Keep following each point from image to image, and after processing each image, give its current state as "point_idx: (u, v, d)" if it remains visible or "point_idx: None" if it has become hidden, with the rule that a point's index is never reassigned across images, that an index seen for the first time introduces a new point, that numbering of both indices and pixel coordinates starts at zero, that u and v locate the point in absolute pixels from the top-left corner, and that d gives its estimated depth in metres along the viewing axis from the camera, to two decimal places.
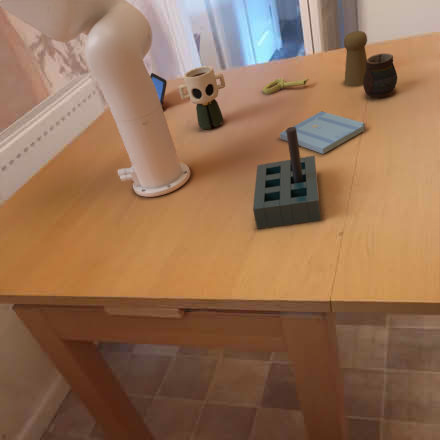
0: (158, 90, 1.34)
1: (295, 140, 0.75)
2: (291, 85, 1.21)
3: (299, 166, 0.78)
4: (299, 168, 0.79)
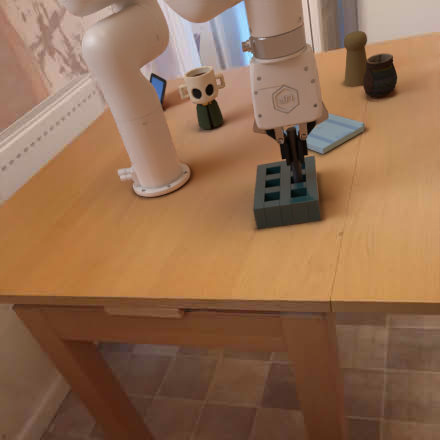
0: (158, 90, 1.34)
1: (295, 140, 0.75)
2: None
3: (299, 166, 0.78)
4: (299, 168, 0.79)
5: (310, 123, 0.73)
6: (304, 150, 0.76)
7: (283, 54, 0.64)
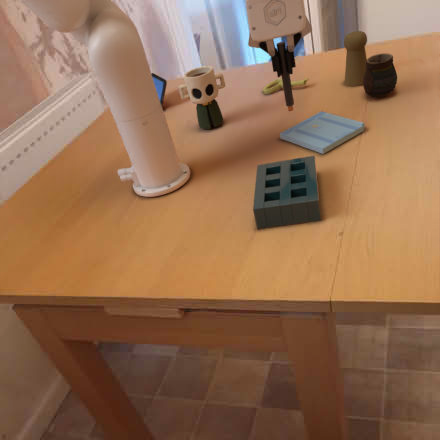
0: (158, 90, 1.34)
1: (284, 53, 0.89)
2: (291, 85, 1.21)
3: (288, 78, 0.92)
4: (288, 80, 0.92)
5: (296, 36, 0.87)
6: (292, 62, 0.90)
7: None
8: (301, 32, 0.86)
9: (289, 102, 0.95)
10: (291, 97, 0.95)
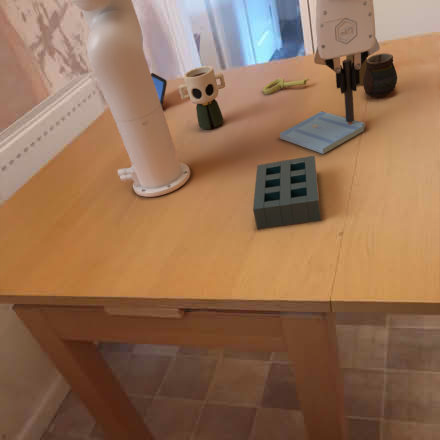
0: (158, 90, 1.34)
1: (350, 70, 0.90)
2: (291, 85, 1.21)
3: (351, 95, 0.93)
4: (351, 96, 0.93)
5: (364, 54, 0.87)
6: (357, 79, 0.91)
7: None
8: (369, 50, 0.87)
9: (350, 118, 0.96)
10: (352, 113, 0.95)
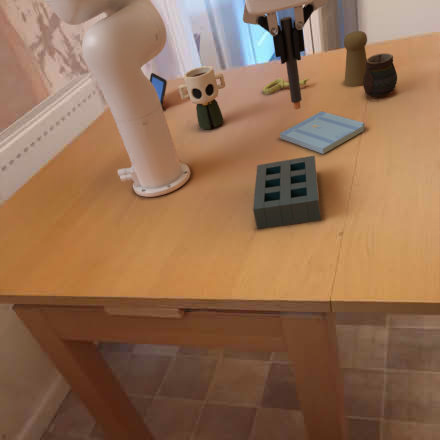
0: (158, 90, 1.34)
1: (290, 31, 0.67)
2: None
3: (295, 65, 0.70)
4: (295, 68, 0.71)
5: (307, 8, 0.65)
6: (300, 44, 0.68)
7: None
8: (313, 3, 0.65)
9: (296, 97, 0.73)
10: (298, 91, 0.73)
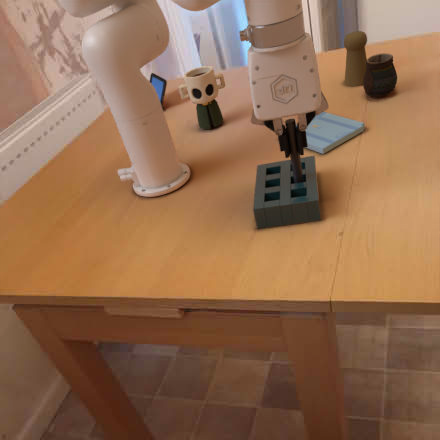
0: (158, 90, 1.34)
1: (294, 131, 0.74)
2: None
3: (298, 159, 0.78)
4: (298, 161, 0.78)
5: (309, 114, 0.72)
6: (303, 142, 0.75)
7: (281, 42, 0.63)
8: (315, 110, 0.72)
9: None
10: (301, 179, 0.80)
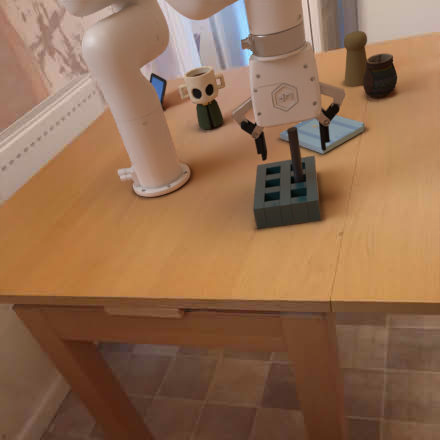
0: (158, 90, 1.34)
1: (296, 140, 0.75)
2: None
3: (300, 166, 0.78)
4: (300, 168, 0.79)
5: (333, 108, 0.71)
6: (326, 137, 0.74)
7: (282, 52, 0.64)
8: (336, 103, 0.71)
9: None
10: None
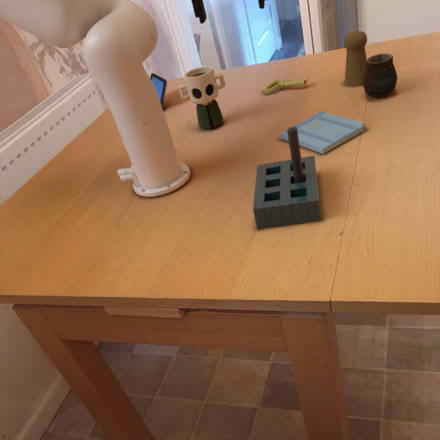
0: (158, 90, 1.34)
1: (296, 140, 0.75)
2: (291, 85, 1.21)
3: (300, 166, 0.78)
4: (300, 168, 0.79)
5: None
6: None
7: None
8: None
9: None
10: None
